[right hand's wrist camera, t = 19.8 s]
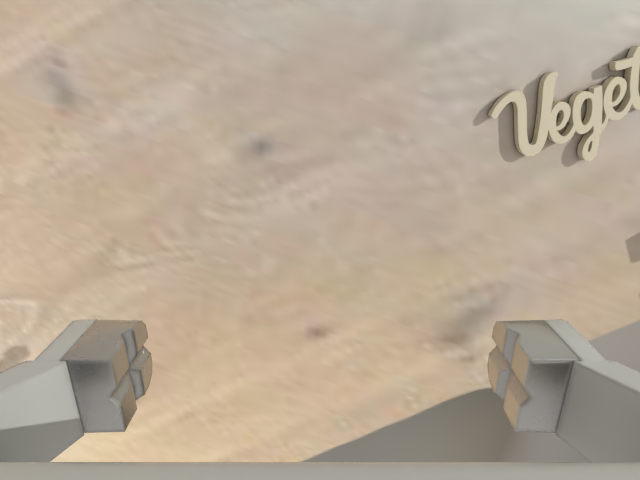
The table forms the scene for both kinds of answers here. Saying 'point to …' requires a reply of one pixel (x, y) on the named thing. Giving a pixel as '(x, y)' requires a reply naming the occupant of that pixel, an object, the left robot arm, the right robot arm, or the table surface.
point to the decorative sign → (575, 109)
